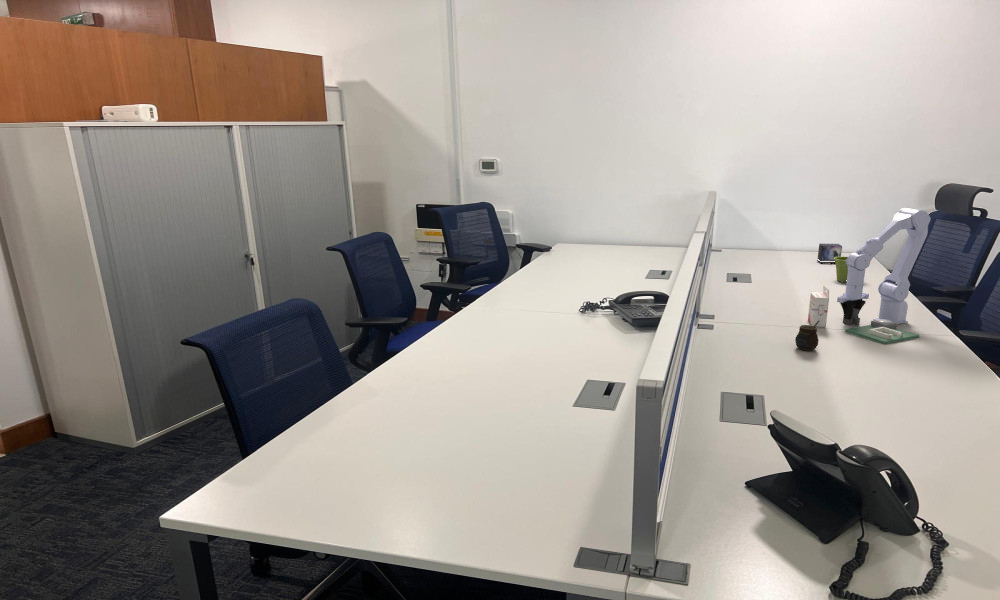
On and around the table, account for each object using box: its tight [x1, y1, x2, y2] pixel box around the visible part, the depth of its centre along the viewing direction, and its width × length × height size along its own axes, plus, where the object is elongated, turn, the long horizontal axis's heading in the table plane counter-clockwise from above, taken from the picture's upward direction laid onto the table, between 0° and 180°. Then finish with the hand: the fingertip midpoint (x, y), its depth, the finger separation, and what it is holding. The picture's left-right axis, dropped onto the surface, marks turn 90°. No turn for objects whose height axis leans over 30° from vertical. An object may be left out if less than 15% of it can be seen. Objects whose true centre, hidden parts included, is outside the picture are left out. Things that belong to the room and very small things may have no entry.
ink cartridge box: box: [807, 285, 830, 328], centre depth 250 cm, size 9×5×15 cm, turn 168°
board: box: [844, 319, 920, 345], centre depth 237 cm, size 18×16×3 cm
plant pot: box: [834, 256, 848, 283], centre depth 318 cm, size 12×12×11 cm
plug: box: [842, 308, 861, 327], centre depth 250 cm, size 3×6×6 cm, turn 23°
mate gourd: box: [794, 321, 819, 352], centre depth 222 cm, size 7×8×10 cm
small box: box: [816, 243, 843, 264], centre depth 360 cm, size 11×6×10 cm, turn 80°
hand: (850, 318), depth 251 cm, fingers closed on plug, 3 cm apart
